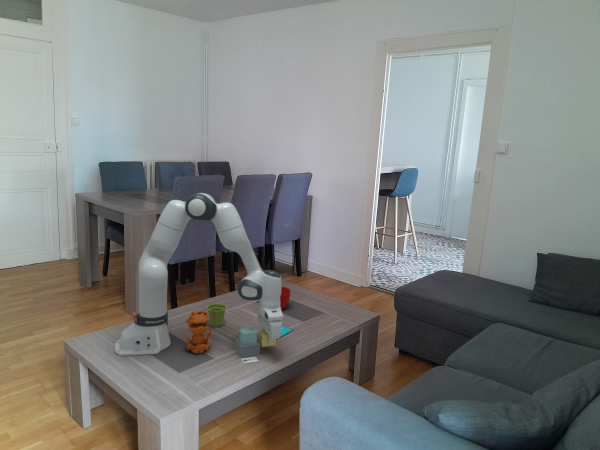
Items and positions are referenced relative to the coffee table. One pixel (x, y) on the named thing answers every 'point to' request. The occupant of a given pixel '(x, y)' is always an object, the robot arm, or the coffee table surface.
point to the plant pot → (216, 314)
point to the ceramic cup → (284, 297)
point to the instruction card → (249, 360)
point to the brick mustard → (265, 339)
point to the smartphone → (285, 331)
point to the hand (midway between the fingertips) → (267, 339)
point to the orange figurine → (198, 332)
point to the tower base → (247, 349)
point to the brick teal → (248, 336)
